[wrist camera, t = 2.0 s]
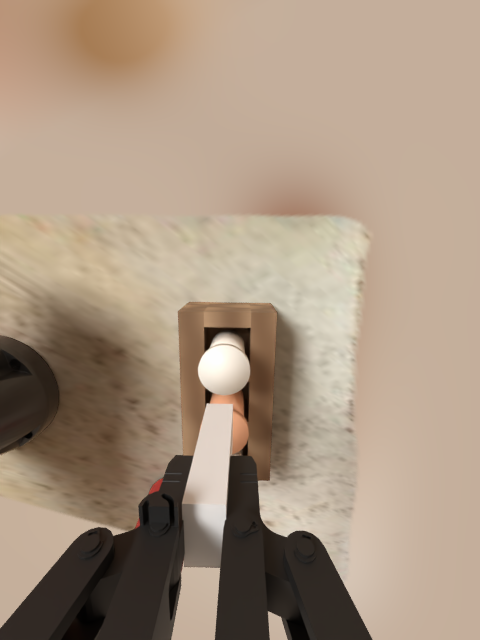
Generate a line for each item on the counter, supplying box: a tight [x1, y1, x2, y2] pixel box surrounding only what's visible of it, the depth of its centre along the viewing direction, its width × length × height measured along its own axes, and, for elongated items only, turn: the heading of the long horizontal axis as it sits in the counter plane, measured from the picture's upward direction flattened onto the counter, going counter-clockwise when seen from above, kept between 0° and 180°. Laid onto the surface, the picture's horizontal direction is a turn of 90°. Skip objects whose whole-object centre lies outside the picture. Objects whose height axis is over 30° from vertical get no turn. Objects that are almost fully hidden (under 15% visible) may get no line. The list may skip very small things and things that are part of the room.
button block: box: [178, 302, 277, 481], centre depth 33 cm, size 10×20×6 cm, turn 179°
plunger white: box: [198, 330, 250, 395], centre depth 26 cm, size 4×4×7 cm
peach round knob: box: [199, 390, 249, 454], centre depth 28 cm, size 4×4×7 cm
